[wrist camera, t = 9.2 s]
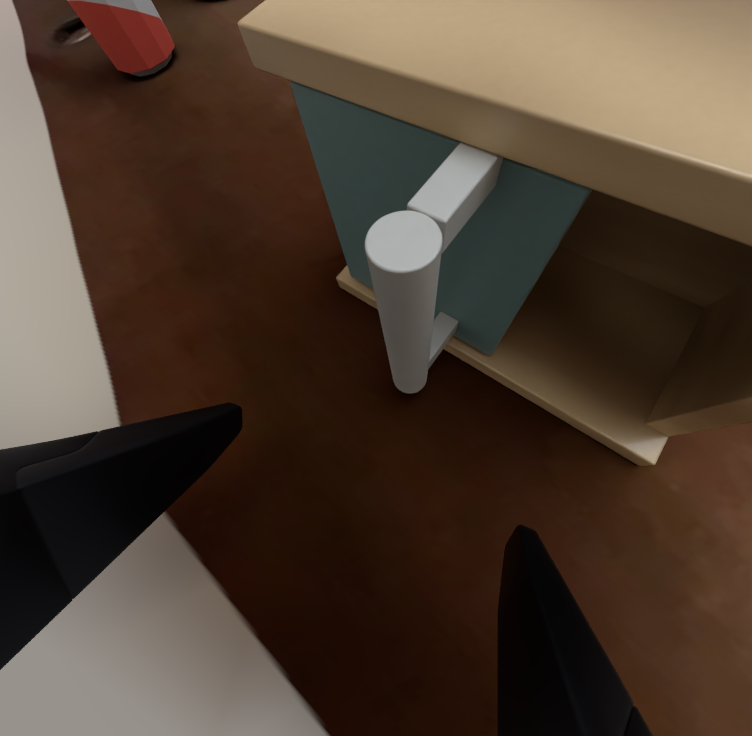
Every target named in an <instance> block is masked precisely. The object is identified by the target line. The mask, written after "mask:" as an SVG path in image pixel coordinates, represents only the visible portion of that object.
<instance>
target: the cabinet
mask: <svg viewBox="0 0 752 736" xmlns="http://www.w3.org/2000/svg"><path fill="white" fill-rule="evenodd" d="M238 27H239V30H240V32H241V35H242V38H243V40H244V43H245V45H246V48H247V50H248V53H249V56H250V58H251V61H252V63H253V65H254V67H255V68H257V69H260V70H263V71H265V72H268V73H271V74H274V75H276V76H279V77H282V78H285V79H288V80H290V81H293V82H296V83H299V84H301V85H304V86H307V87H310V88H313V89H315V90H318V91H321V92H324V93H326V94H329V95H332V96H335V97H338V98H340V99H343V100H346V101H349V102H351V103H354V104H357V105H360V106H363V107H365V108H368V109H371V110H374V111H376V112H379V113H382V114H385V115H388V116H390V117H393V118H396V119H399V120H401V121H404V122H407V123H410V124H413V125H415V126H418V127H421V128H424V129H427V130H429V131H432V132H435V133H438V134H440V135H443V136H446V137H449V138H452V139H454V140H457V141H460V142H463V143H465V144H468V145H471V146H474V147H477V148H479V149H482V150H485V151H488V152H490V153H493V154H496V155H499V156H502V157H504V158H507V159H510V160H513V161H515V162H518V163H521V164H524V165H527V166H529V167H532V168H535V169H538V170H540V171H543V172H546V173H549V174H552V175H554V176H557V177H560V178H563V179H565V180H568V181H571V182H574V183H577V184H579V185H582V186H585V187H588V188H590V189H593V190H592V192H591V193H590V195H589V197H588V198H587V200H586V201H585V203H584V205H583V206H582V208H581V210H580V211H579V213H578V215H577V216H576V218H575V220H574V221H573V223H572V225H571V226H570V228H569V229H568V231H567V233H566V234H565V236H564V238H563V239H562V241H561V243H560V244H559V246H558V248H557V249H556V251H555V252H554V254H553V256H552V257H551V259H550V261H549V262H548V264H547V266H546V267H545V269H544V271H543V272H542V274H541V276H540V277H539V279H538V280H537V282H536V284H535V285H534V287H533V289H532V290H531V292H530V294H529V295H528V297H527V299H526V300H525V302H524V303H523V305H522V307H521V308H520V310H519V312H518V313H517V315H516V317H515V318H514V320H513V322H512V323H511V325H510V327H509V328H508V330H507V331H506V333H505V335H504V336H503V338H502V340H501V341H500V343H499V345H498V346H497V348H496V349H495V351H494V352H493V354H492V355H491V356H489V355H487V354H485V353H483V352H482V351H480V350H478V349H477V348H475V347H473V346H471V345H470V344H468V343H466V342H464V341H463V340H461V339H459V338H457V337H456V336H454V335H453V336H452V337H451V339H450V340H449V342H448V343H447V344H446V346H445V347H444V350H446V351H448V352H449V353H451V354H453V355H454V356H456V357H458V358H459V359H461V360H463V361H464V362H466V363H468V364H469V365H471V366H473V367H474V368H476V369H478V370H479V371H481V372H483V373H484V374H486V375H488V376H489V377H491V378H493V379H494V380H496V381H498V382H500V383H501V384H503V385H505V386H506V387H508V388H510V389H511V390H513V391H515V392H516V393H518V394H520V395H521V396H523V397H525V398H526V399H528V400H530V401H531V402H533V403H535V404H536V405H538V406H540V407H541V408H543V409H545V410H546V411H548V412H550V413H551V414H553V415H555V416H556V417H558V418H560V419H561V420H563V421H565V422H566V423H568V424H570V425H571V426H573V427H575V428H577V429H578V430H580V431H582V432H583V433H585V434H587V435H588V436H590V437H592V438H593V439H595V440H597V441H598V442H600V443H602V444H603V445H605V446H607V447H608V448H610V449H612V450H613V451H615V452H617V453H618V454H620V455H622V456H623V457H625V458H627V459H628V460H630V461H632V462H633V463H635V464H637V465H638V466H651V465H655V464H656V462H657V460H658V458H659V455H660V453H661V451H662V449H663V447H664V445H665V443H666V441H667V439H668V437H670V436H676V435H681V434H687V433H693V432H698V431H704V430H710V429H715V428H721V427H727V426H732V425H738V424H743V423H749V422H752V0H265V1H264V2H263V3H261V4H260V5H259V6H258V7H256V8H255V9H254V10H252V11H251V12H250V13H249V14H247V15H246V16H245V17H244V18H242V19H241V20H240V21H238ZM336 279H337V282H338V284H339V287H341V288H342V289H344V290H346V291H347V292H349V293H351V294H352V295H354V296H356V297H357V298H359V299H361V300H362V301H364V302H366V303H367V304H369V305H371V306H372V307H374V308H376V309H377V310H378V307H377V302H376V298H375V293H374V289H372V288H371V287H369V286H367V285H365V284H364V283H362V282H360V281H358V280H357V279H355V278H353V277H351V275H350V272H349V269H348V266H346V267H345V268H344V269H343V270H342V271H341V272H340V274H339V275H338V276H337V277H336Z"/></svg>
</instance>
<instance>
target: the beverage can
mask: <svg viewBox="0 0 752 736" xmlns="http://www.w3.org/2000/svg"><path fill="white" fill-rule="evenodd" d="M67 1H68V2H69V4H70V5H71V6H72V8H73V9H74V11H75V12H76V13H77V15H78V16H79V17H80V19H81V20H82V22H83V23H84V24H85V26H86V27H87V28H88V30H89V31H90V33H91V34H92V35H93V37H94V38H95V40H96V41H97V42H98V44H99V45H100V46H101V48H102V49H103V51H104V52H105V53H106V55H107V56H108V57H109V59H110V60H111V62H112V63H113V64H114V66H115V67H116V69H117V70H119V71H123V72H127V73H130V74H132V75H136V76H140V77H141V76H146V75H150V74H154V73H156V72H157V71H159V70H161V69H162V68H164V67H165V66H166V65H167V64H168V62H169V61H170V59H171V58H172V53H171V52H172V50H173V49H174V47H175V45H174V43H173V40H172V37H171V36H170V34H169V32H168V30H167V28H166V27H165V25H164V23H163V21H162V19H161V17H160V16H159V14H158V12H157V10H156V8H155V7H154V5H153V3H152V1H151V0H67Z"/></svg>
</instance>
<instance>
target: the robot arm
mask: <svg viewBox="0 0 752 736" xmlns="http://www.w3.org/2000/svg"><path fill="white" fill-rule="evenodd" d="M241 429H242V409H241V407H240V406H238V405H236V404H233V403H225V404H220V405H216V406H211V407H207V408H202V409H197V410H193V411H188V412H184V413H179V414H175V415H170V416H165V417H161V418H156V419H152V420H147V421H142V422H138V423H133V424H129V425H124V426H120V427H115V428H111V429H106V430H102V431H100V432H92V433H87V434H83V435H78V436H74V437H69V438H64V439H59V440H54V441H48V442H42V443H37V444H32V445H26V446H20V447H14V448H8V449H2V450H0V670H1V669H2V668H3V667H4V666H5V665H6V664H7V663H8V662H9V661H10V660H11V659H12V658H13V657H14V656H15V655H16V654H17V653H18V652H19V651H20V650H21V649H22V648H23V647H24V646H25V645H26V644H28V642H30V641H31V640H32V639H33V638H34V637H35V636H36V635H37V634H38V633H39V632H40V631H41V630H42V629H43V628H44V627H45V626H46V625H47V624H48V623H49V622H50V621H51V620H52V619H53V618H55V616H56V615H58V614H59V613H60V612H61V611H62V610H63V609H64V608H65V607H66V606H67V605H68V604H69V603H70V602H71V601H72V599H73V598H75V597H76V596H77V595H78V594H79V593H80V592H81V591H82V590H83V589H84V588H85V587H86V586H87V585H88V584H90V583H91V582H92V580H94V579H95V578H96V577H97V576H98V575H99V574H100V573H101V572H102V571H103V570H104V569H105V568H106V567H107V566H108V565H109V564H110V563H111V562H112V561H113V560H114V559H115V558H117V556H119V555H120V554H121V553H122V552H123V551H124V550H125V549H126V548H127V547H128V546H129V545H130V544H131V543H132V542H133V541H134V540H135V539H136V538H137V537H138V536H139V535H140V534H141V533H142V532H143V531H144V530H145V529H146V528H147V527H149V526H150V525H151V524H152V523H153V522H154V521H155V520H156V519H157V518H158V517H159V516H160V515H161V514H162V513H163V512H164V511H165V510H166V509H167V508H168V507H169V506H170V505H171V504H173V503H174V502H175V501H176V500H177V499H178V498H179V497H180V496H181V495H182V494H183V493H184V492H185V491H186V490H187V489H188V488H189V487H190V486H191V485H192V484H193V483H194V482H195V481H196V480H197V479H198V478H200V477H201V476H202V475H203V474H204V473H205V472H206V471H207V470H208V469H209V467H210V466H211V465H212V464H213V463H214V462H215V461H216V460H217V458H218V457H219V456H220V455H221V454H222V453H223V452H224V450H225V449H226V448H227V447H228V446H229V445H230V443H231V442H232V441H233V440H234V439H235V438H236V436H237V435H238V434H239V433H240V431H241ZM633 704H634V703H633V700H632V698H631V697H630V695H629V693H628V691H627V690H626V688H625V686H624V684H623V683H622V681H621V679H620V677H619V676H618V674H617V672H616V670H615V669H614V667H613V665H612V663H611V662H610V660H609V658H608V656H607V655H606V653H605V651H604V649H603V648H602V646H601V644H600V642H599V641H598V639H597V637H596V635H595V634H594V632H593V630H592V628H591V627H590V625H589V623H588V621H587V620H586V618H585V616H584V614H583V613H582V611H581V609H580V607H579V606H578V604H577V602H576V600H575V599H574V597H573V595H572V593H571V592H570V590H569V588H568V586H567V585H566V583H565V581H564V579H563V578H562V576H561V574H560V572H559V571H558V569H557V567H556V565H555V564H554V562H553V560H552V558H551V557H550V555H549V553H548V551H547V550H546V548H545V546H544V544H543V543H542V541H541V539H540V537H539V536H538V534H537V533H536V531H534V530H533V529H530V528H528V527H526V526H523V525H518V526H517V527H516V529H515V530H514V532H513V533H512V535H511V537H510V538H509V540H508V542H507V544H506V547H505V552H504V560H503V569H502V578H501V587H500V596H499V606H498V736H653V735H652V733H651V731H650V729H649V728H648V726H647V724H646V722H645V721H644V719H643V717H642V715H641V714H640V712H639V710H638V709H637V707H635V706H633Z"/></svg>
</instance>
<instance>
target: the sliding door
mask: <svg viewBox="0 0 752 736" xmlns="http://www.w3.org/2000/svg"><path fill="white" fill-rule="evenodd" d="M291 87H292V90H293V94H294V97H295V100H296V103H297V106H298V110H299V113H300V116H301V119H302V122H303V125H304V129H305V132H306V135H307V138H308V141H309V145H310V148H311V151H312V154H313V157H314V161H315V164H316V167H317V170H318V173H319V176H320V180H321V183H322V186H323V189H324V192H325V196H326V199H327V202H328V205H329V208H330V212H331V215H332V218H333V221H334V224H335V227H336V231H337V234H338V237H339V240H340V243H341V247H342V250H343V253H344V256H345V259H346V263H347V266H348V269H349V272H350V275H351V277H353V278H355V279H357V280H358V281H360V282H362V283H364V284H365V285H367V286H369V287H371V288H372V289H374V293H375V298H376V302H377V307H378V312H379V316H380V321H381V326H382V330H383V335H384V339H385V344H386V349H387V353H388V358H389V363H390V367H391V372H392V377H393V381H394V384H395V386H396V387H397V388H398V389H399V390H400V391H402V392H404V393H416V392H418V391H420V390H421V389H422V388H423V387H424V386H425V384H426V381H427V374H428V369H429V368H430V367H431V365H432V364H433V362H434V361H435V360H436V358H437V357H438V355H439V354H440V353H441V351H442V350H443V349H444V347H445V346H446V344H447V343H448V342H449V340H450V339H451V337H452V336H453V335H454V336H456V337H457V338H459V339H461V340H463V341H464V342H466V343H468V344H470V345H471V346H473V347H475V348H477V349H478V350H480V351H482V352H483V353H485V354H487V355H489V356H491V355H492V354H493V352H494V351H495V349H496V348H497V346H498V345H499V343H500V341H501V340H502V338H503V336H504V335H505V333H506V331H507V330H508V328H509V327H510V325H511V323H512V322H513V320H514V318H515V317H516V315H517V313H518V312H519V310H520V308H521V307H522V305H523V303H524V302H525V300H526V299H527V297H528V295H529V294H530V292H531V290H532V289H533V287H534V285H535V284H536V282H537V280H538V279H539V277H540V276H541V274H542V272H543V271H544V269H545V267H546V266H547V264H548V262H549V261H550V259H551V257H552V256H553V254H554V252H555V251H556V249H557V248H558V246H559V244H560V243H561V241H562V239H563V238H564V236H565V234H566V233H567V231H568V229H569V228H570V226H571V225H572V223H573V221H574V220H575V218H576V216H577V215H578V213H579V211H580V210H581V208H582V206H583V205H584V203H585V201H586V200H587V198H588V197H589V195H590V193H591V192H592V190H593V189H590V188H588V187H585V186H582V185H579V184H577V183H574V182H571V181H568V180H565V179H563V178H560V177H557V176H554V175H552V174H549V173H546V172H543V171H540V170H538V169H535V168H532V167H529V166H527V165H524V164H521V163H518V162H515V161H513V160H510V159H507V158H504V157H502V156H499V155H496V154H493V153H490V152H488V151H485V150H482V149H479V148H477V147H474V146H471V145H468V144H465V143H463V142H460V141H457V140H454V139H452V138H449V137H446V136H443V135H440V134H438V133H435V132H432V131H429V130H427V129H424V128H421V127H418V126H415V125H413V124H410V123H407V122H404V121H401V120H399V119H396V118H393V117H390V116H388V115H385V114H382V113H379V112H376V111H374V110H371V109H368V108H365V107H363V106H360V105H357V104H354V103H351V102H349V101H346V100H343V99H340V98H338V97H335V96H332V95H329V94H326V93H324V92H321V91H318V90H315V89H313V88H310V87H307V86H304V85H301V84H299V83H296V82H293V81H291Z"/></svg>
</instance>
